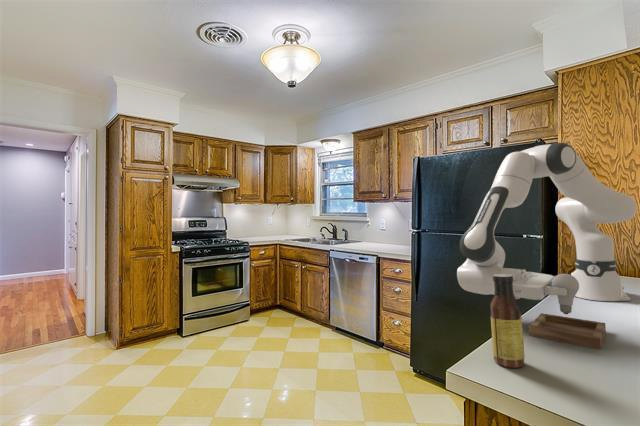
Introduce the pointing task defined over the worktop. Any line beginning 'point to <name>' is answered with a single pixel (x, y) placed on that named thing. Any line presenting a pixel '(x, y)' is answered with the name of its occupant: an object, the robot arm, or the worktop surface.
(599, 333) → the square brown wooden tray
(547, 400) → the worktop surface
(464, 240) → the robot arm
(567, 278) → the lightbulb
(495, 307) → the sauce bottle
